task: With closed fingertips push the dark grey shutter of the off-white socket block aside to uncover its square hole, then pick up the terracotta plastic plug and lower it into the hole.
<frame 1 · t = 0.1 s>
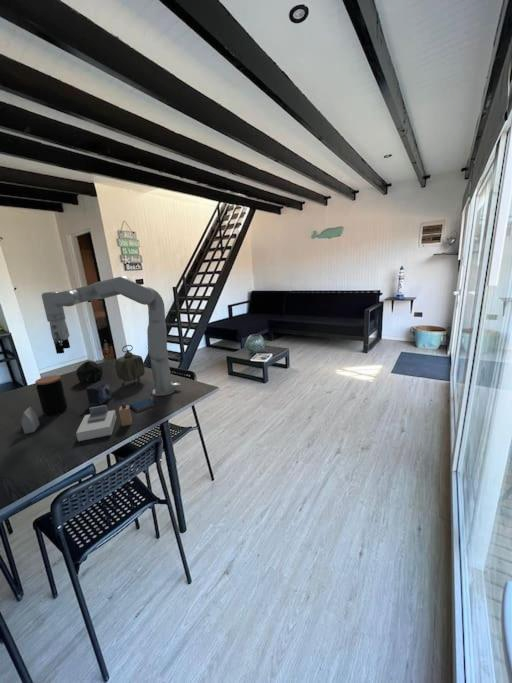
hand: (63, 350, 148), 31 cm above the table, fingers open, 9 cm apart
tabletop clock: (133, 383, 183), on the table
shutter: (97, 413, 134), point 6 cm above the table, slide at 0.0 cm
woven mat: (142, 407, 153), on the table
squash: (91, 381, 191), on the table
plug: (127, 423, 136), on the table
socket block: (98, 428, 133), on the table
coffee jar: (56, 411, 152), on the table
small box: (101, 402, 159), on the table
grey faceted stone: (32, 429, 136), on the table
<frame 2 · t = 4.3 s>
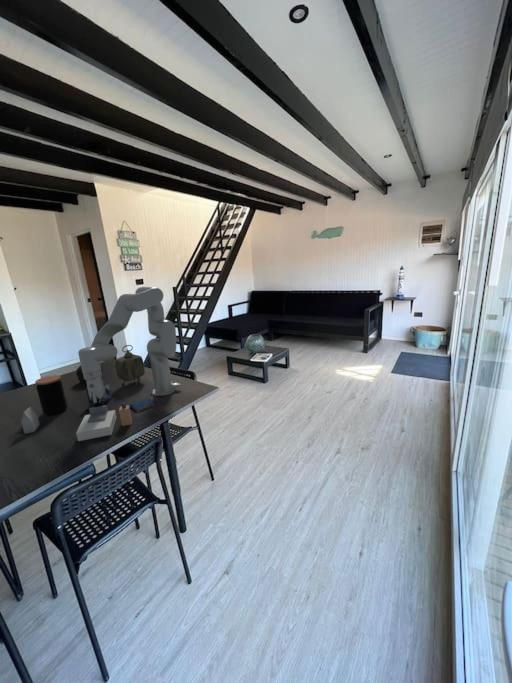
hand: (99, 409, 139), 5 cm above the table, fingers closed
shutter: (97, 413, 134), point 6 cm above the table, slide at 0.3 cm, touching gripper
everything else where it was.
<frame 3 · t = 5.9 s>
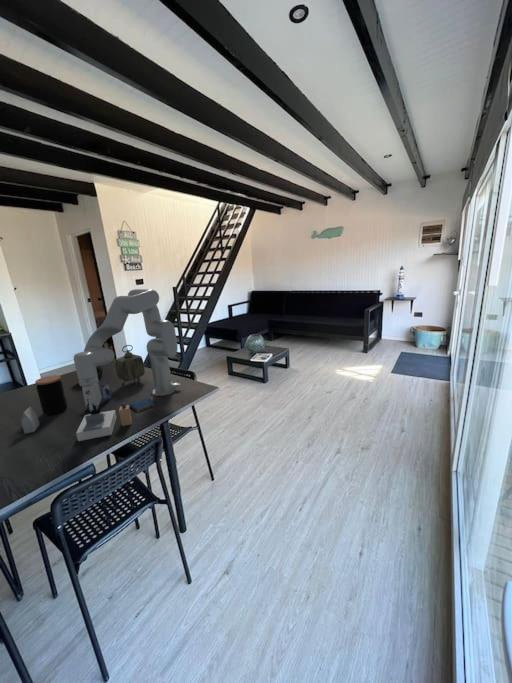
hand: (96, 417, 132), 5 cm above the table, fingers closed
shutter: (93, 421, 127), point 6 cm above the table, slide at 8.1 cm, touching gripper
everything else where it was.
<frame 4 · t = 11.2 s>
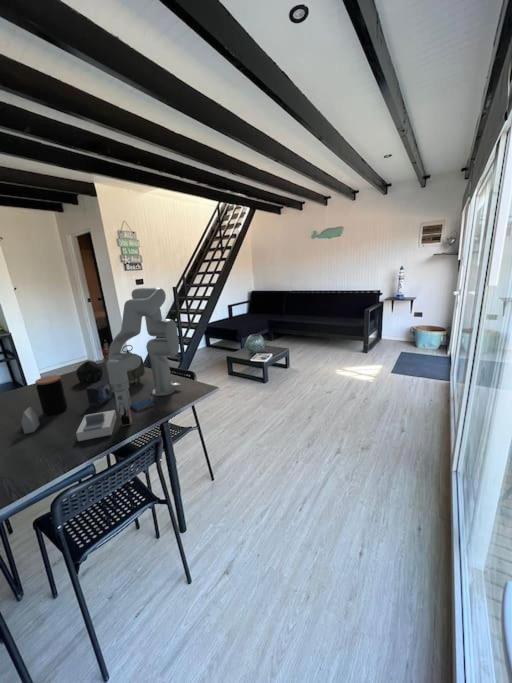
hand: (126, 421, 136), 1 cm above the table, fingers closed on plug, 4 cm apart
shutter: (93, 421, 127), point 6 cm above the table, slide at 8.0 cm
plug: (126, 423, 136), on the table, touching gripper
everything else where it was.
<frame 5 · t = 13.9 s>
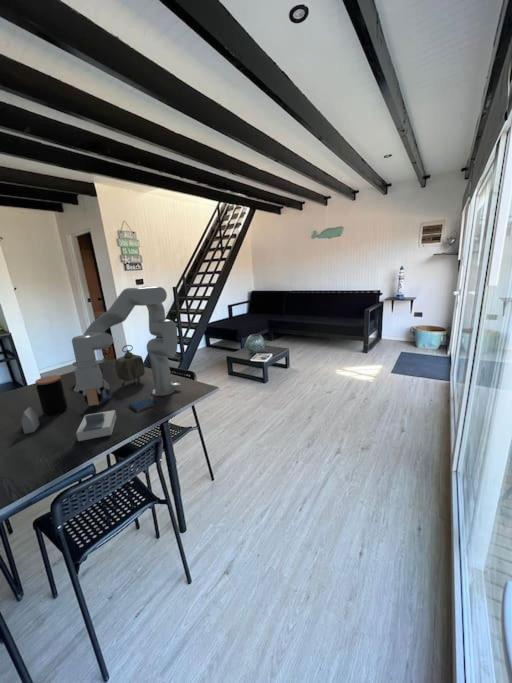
hand: (94, 401, 132), 12 cm above the table, fingers closed on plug, 4 cm apart
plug: (94, 403, 133), point 11 cm above the table, touching gripper
everything else where it was.
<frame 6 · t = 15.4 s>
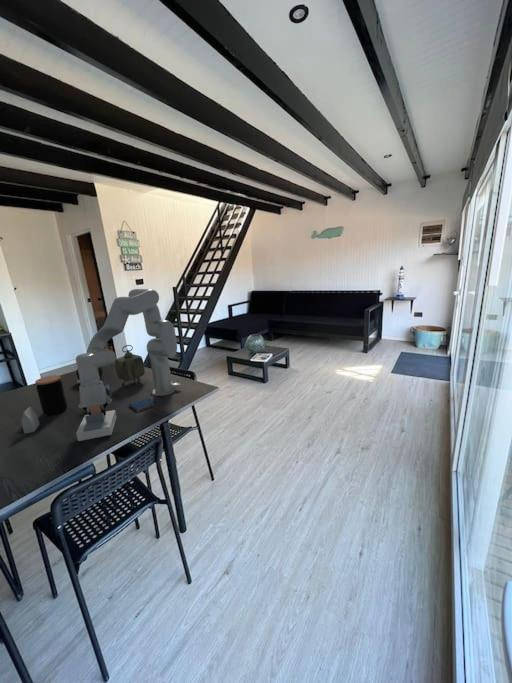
hand: (98, 417, 135), 4 cm above the table, fingers closed on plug, 4 cm apart
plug: (98, 419, 135), point 3 cm above the table, touching gripper
everything else where it was.
when the fingers open (4 cm above the table, at t = 16.9 s): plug drops 2 cm, resting in socket block.
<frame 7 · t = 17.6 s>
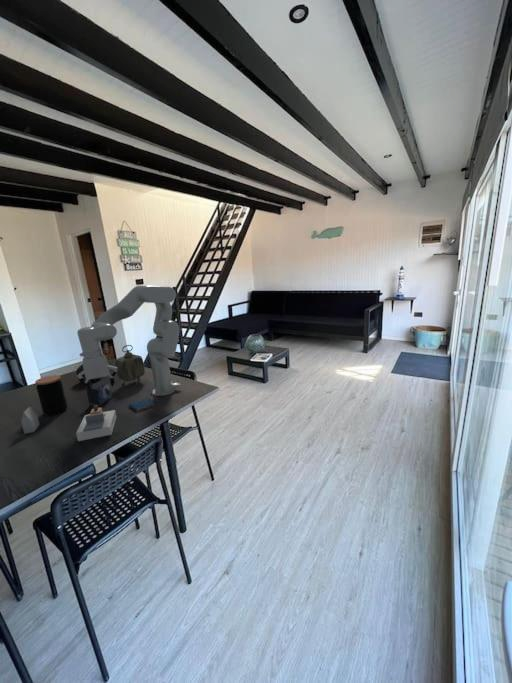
hand: (101, 387, 140), 15 cm above the table, fingers open, 9 cm apart
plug: (99, 425, 135), resting in socket block
everything else where it was.
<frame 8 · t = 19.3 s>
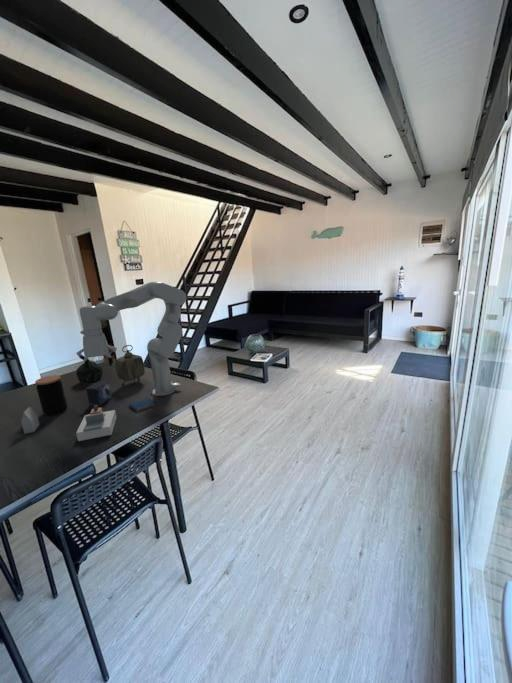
hand: (100, 366, 142), 24 cm above the table, fingers open, 9 cm apart
nothing on the table moved.
at the end: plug 0.3 cm from the target spot on the socket block, point 0.0 cm above the socket block's base; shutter slide at 8.0 cm; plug tilted 0° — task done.
